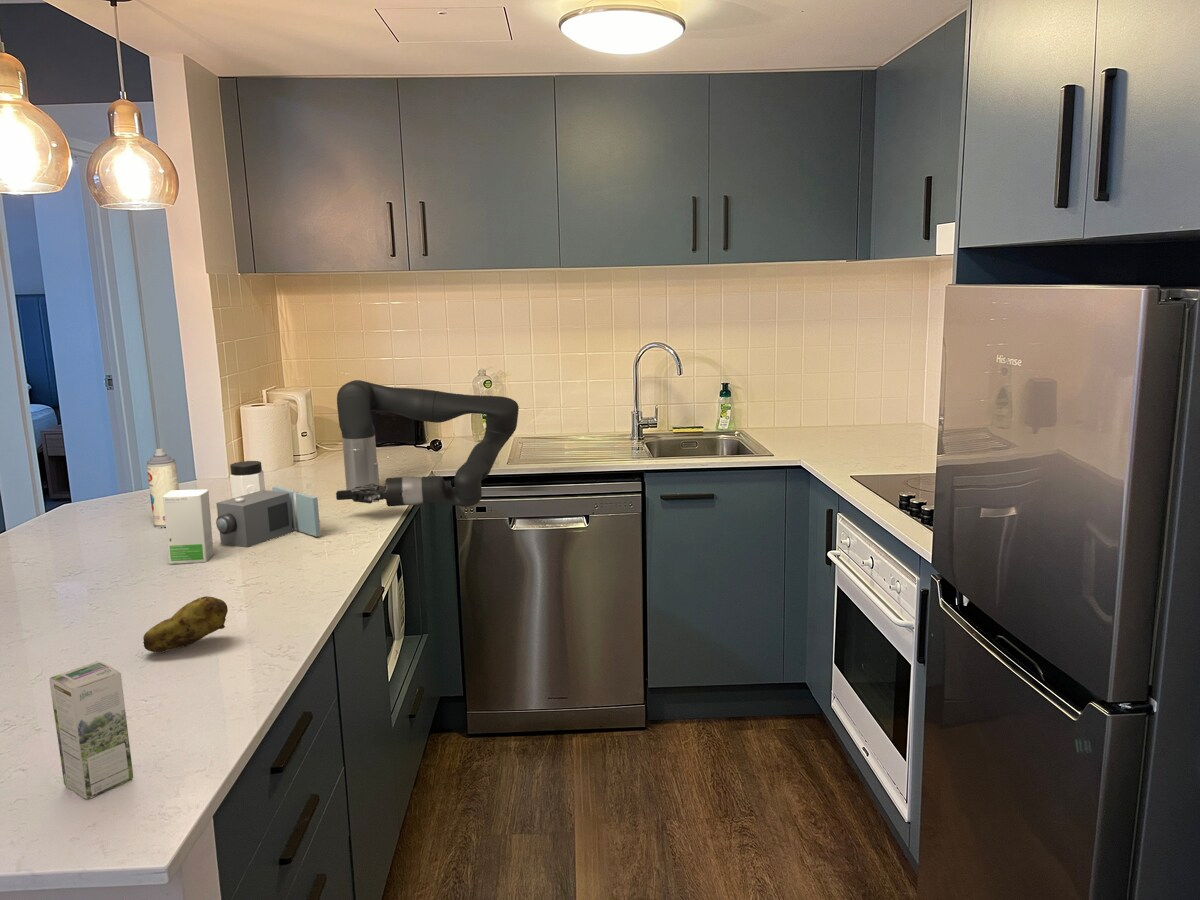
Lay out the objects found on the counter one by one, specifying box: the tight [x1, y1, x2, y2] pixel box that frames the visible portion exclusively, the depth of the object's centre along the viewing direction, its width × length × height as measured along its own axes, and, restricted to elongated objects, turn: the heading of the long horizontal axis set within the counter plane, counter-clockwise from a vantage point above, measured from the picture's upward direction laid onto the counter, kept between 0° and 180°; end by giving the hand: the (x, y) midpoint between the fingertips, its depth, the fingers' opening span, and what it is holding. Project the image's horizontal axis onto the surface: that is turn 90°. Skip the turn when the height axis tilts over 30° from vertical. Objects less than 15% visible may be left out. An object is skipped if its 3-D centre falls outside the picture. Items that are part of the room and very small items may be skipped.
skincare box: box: [163, 489, 214, 565], centre depth 196 cm, size 8×7×16 cm
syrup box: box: [49, 660, 134, 800], centre depth 106 cm, size 6×6×14 cm
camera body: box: [215, 489, 294, 548], centre depth 212 cm, size 16×9×11 cm, turn 153°
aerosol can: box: [146, 448, 180, 528], centre depth 227 cm, size 7×7×20 cm
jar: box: [229, 460, 266, 499], centre depth 246 cm, size 9×8×12 cm
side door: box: [271, 485, 322, 537], centre depth 218 cm, size 20×1×10 cm, turn 47°
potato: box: [142, 596, 229, 653], centre depth 148 cm, size 8×13×8 cm, turn 105°
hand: (336, 495), depth 227 cm, fingers closed
